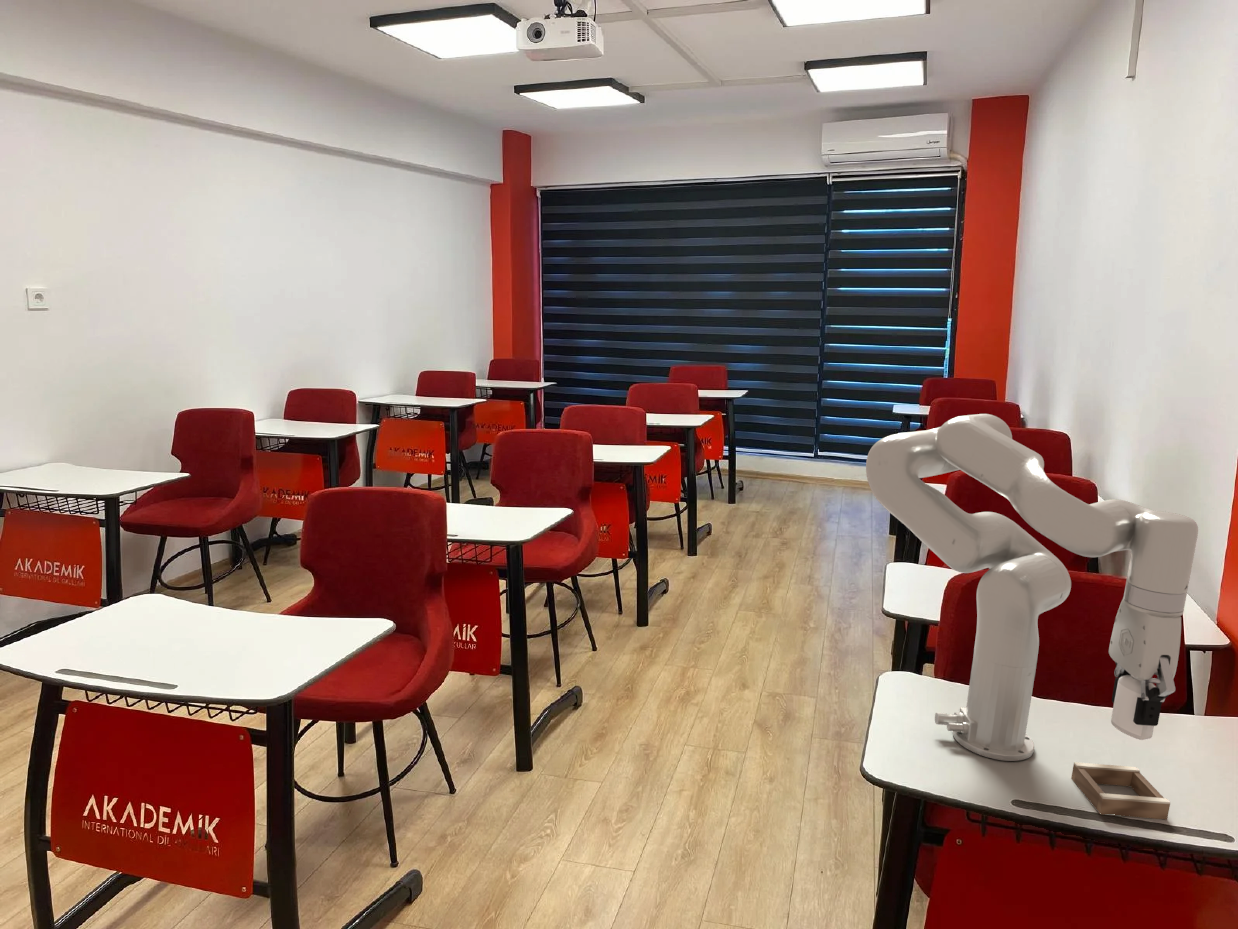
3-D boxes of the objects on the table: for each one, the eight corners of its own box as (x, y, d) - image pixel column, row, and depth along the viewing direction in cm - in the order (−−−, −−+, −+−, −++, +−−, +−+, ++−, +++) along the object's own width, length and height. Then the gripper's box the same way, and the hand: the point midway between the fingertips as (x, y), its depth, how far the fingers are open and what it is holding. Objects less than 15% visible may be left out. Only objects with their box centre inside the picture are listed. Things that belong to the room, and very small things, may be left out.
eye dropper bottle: (1122, 739, 127) (1136, 662, 124) (1107, 720, 132) (1120, 646, 130) (1154, 742, 126) (1168, 665, 124) (1138, 724, 131) (1151, 650, 129)
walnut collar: (1100, 814, 127) (1103, 797, 126) (1071, 778, 136) (1073, 762, 136) (1167, 819, 126) (1170, 802, 126) (1133, 783, 136) (1136, 767, 135)
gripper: (1099, 577, 134) (1081, 686, 137) (1159, 618, 117) (1137, 741, 120) (1149, 580, 133) (1130, 689, 137) (1217, 621, 116) (1193, 745, 120)
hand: (1133, 712), depth 128 cm, fingers closed on eye dropper bottle, 5 cm apart
